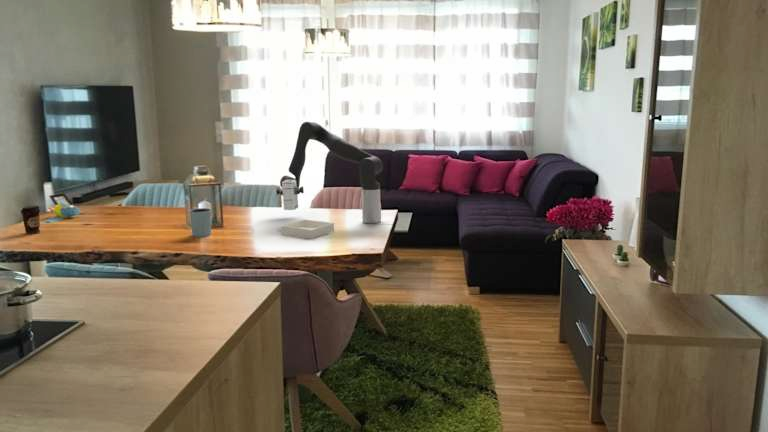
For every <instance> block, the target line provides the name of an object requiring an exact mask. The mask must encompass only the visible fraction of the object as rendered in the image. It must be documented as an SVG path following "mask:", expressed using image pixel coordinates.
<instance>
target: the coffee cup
mask: <svg viewBox="0 0 768 432" xmlns="http://www.w3.org/2000/svg"><path fill="white" fill-rule="evenodd" d="M40 210H41V209H40V206H38V205H29V206H28V205H27V206H24V207H22V209H21V210H20V214H21V217H22V221H23V227H24V231H25V234H27V235H35V234H38V233H41V230H40V227H41V216H40V212H41V211H40Z"/></svg>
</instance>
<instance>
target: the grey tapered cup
mask: <svg viewBox="0 0 768 432" xmlns="http://www.w3.org/2000/svg"><path fill="white" fill-rule="evenodd" d="M188 213H189V217H190V218H189V219H190V224H191V225H190V226H191V233H192V236H193V237H195V238H198V237H199V238H200V237H201V238H202V237H209V236H212V209H211V208H204V207H203V208H193V209H190V210H188Z"/></svg>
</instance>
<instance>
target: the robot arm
mask: <svg viewBox="0 0 768 432" xmlns="http://www.w3.org/2000/svg"><path fill="white" fill-rule="evenodd" d="M296 140H297V141H296V145H295V148H294V149H295V150H294V153H293V155H292V159H291V161H290V165H289V166H288V172H289V173H290V174H291V175H293V176H294V177H292V176H289V175H283V176H282V177H281V178H280V182H279V185H280V187H281V189H280V187H276V189H275V190H276V195H277V196H278V195H281V196H283V190H282V182H283V181H285V180H296V184H297V195H299V194H304V186H301V187H300V182H301V174H302V171H303V169H304V166H305V164H306V163H305V162H306V150H307V149H306V148H307V145H308V143H309V141H310V140H311V141H312V140H313V141H317V142H318V143H320V144H322V145H324V146H325V147H326V149H328V151H329V152H330V153H332V154H333V155H334V156H336V157H338V158H340V159H342V160H345V161H349V162H352V163H356V164H359V168H358V170H359V182H360V185H361V201H362V202H361V203H362V205H361V206H362V207H361V208H362V209H361V210H362V211H361V213H362V223H363V224H364V223H365V224H377V223H380V222H381V221H382V203H381V184H380V182H378V181H377V178H376V176H377V175H378V174H380V173H382V171H383V169H384V164H383V162H382V160H381V159H380V158H379V157H378V156H375V155H372V154H371V153H368V152H366V151H364V150H362V149H360V148H359V147H357V146H355V145H354V144H352V143H350V142H349V141H347V140H345V139H344V138H342V137H340V136H338V135H336V134H334V133H332V132H330V131H329V130H327V129H326V128H325V127H323V126H322V125H321V124H319V123H317V122H314V121H313V122H312V121H305V122H303V123H302V124H301V125H300V127H299V130H298V135H297V139H296Z"/></svg>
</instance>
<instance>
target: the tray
mask: <svg viewBox="0 0 768 432" xmlns="http://www.w3.org/2000/svg"><path fill="white" fill-rule="evenodd" d="M333 232H335V223H334V222H330V221H329V222H328V221H323V220H322V221H321V220H314V219H306V218H305V219H301V220H297V221H294V222H290V223H287V224H283V225H280V234H281V235H284V236H285V235H286V236H291V237H299V238H304V239H305V238H306V239H313V238H317V237H320V236H324V235H326V234H330V233H333Z"/></svg>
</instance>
